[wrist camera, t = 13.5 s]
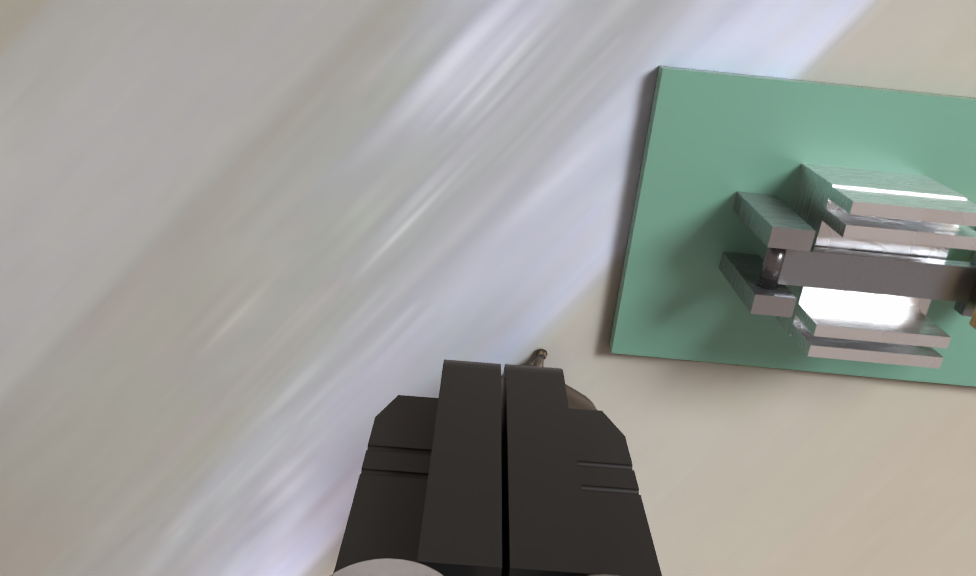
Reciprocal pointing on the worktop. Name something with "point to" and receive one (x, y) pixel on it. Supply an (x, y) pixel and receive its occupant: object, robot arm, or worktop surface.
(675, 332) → the pcb board
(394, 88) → the worktop surface
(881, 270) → the strap
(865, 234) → the heat sink
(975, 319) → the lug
